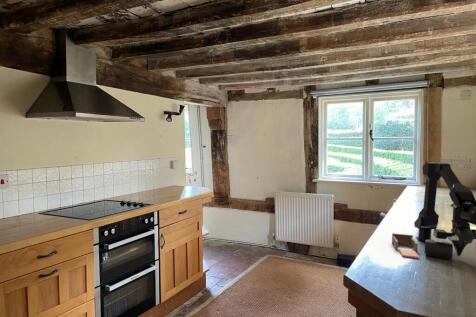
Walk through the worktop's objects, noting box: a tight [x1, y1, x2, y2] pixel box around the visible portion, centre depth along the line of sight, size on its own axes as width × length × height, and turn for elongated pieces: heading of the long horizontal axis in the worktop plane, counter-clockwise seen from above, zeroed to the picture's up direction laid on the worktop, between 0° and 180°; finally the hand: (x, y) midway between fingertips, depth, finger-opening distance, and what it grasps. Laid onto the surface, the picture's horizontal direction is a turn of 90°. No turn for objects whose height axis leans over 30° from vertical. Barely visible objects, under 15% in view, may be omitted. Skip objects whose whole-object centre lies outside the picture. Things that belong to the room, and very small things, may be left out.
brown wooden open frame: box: [391, 232, 419, 254], centre depth 153 cm, size 11×9×5 cm
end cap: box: [424, 239, 454, 260], centre depth 142 cm, size 10×7×7 cm
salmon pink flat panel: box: [398, 248, 420, 259], centre depth 144 cm, size 1×7×9 cm
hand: (458, 255), depth 140 cm, fingers closed
